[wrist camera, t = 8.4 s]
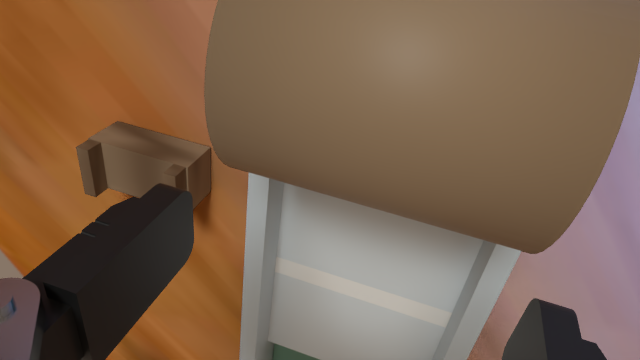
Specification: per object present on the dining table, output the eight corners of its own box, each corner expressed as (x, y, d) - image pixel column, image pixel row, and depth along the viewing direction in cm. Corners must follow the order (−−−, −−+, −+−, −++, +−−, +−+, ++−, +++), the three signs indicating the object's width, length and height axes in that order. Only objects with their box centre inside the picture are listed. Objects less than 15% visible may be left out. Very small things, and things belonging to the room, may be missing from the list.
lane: (257, 381, 36) (193, 516, 28) (300, -89, 18) (157, -83, 10) (407, 438, 33) (383, 601, 26) (623, -34, 16) (758, 28, 8)
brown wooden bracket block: (123, 164, 28) (83, 193, 25) (117, 121, 26) (74, 146, 24) (210, 191, 27) (179, 224, 24) (210, 147, 25) (176, 177, 23)
